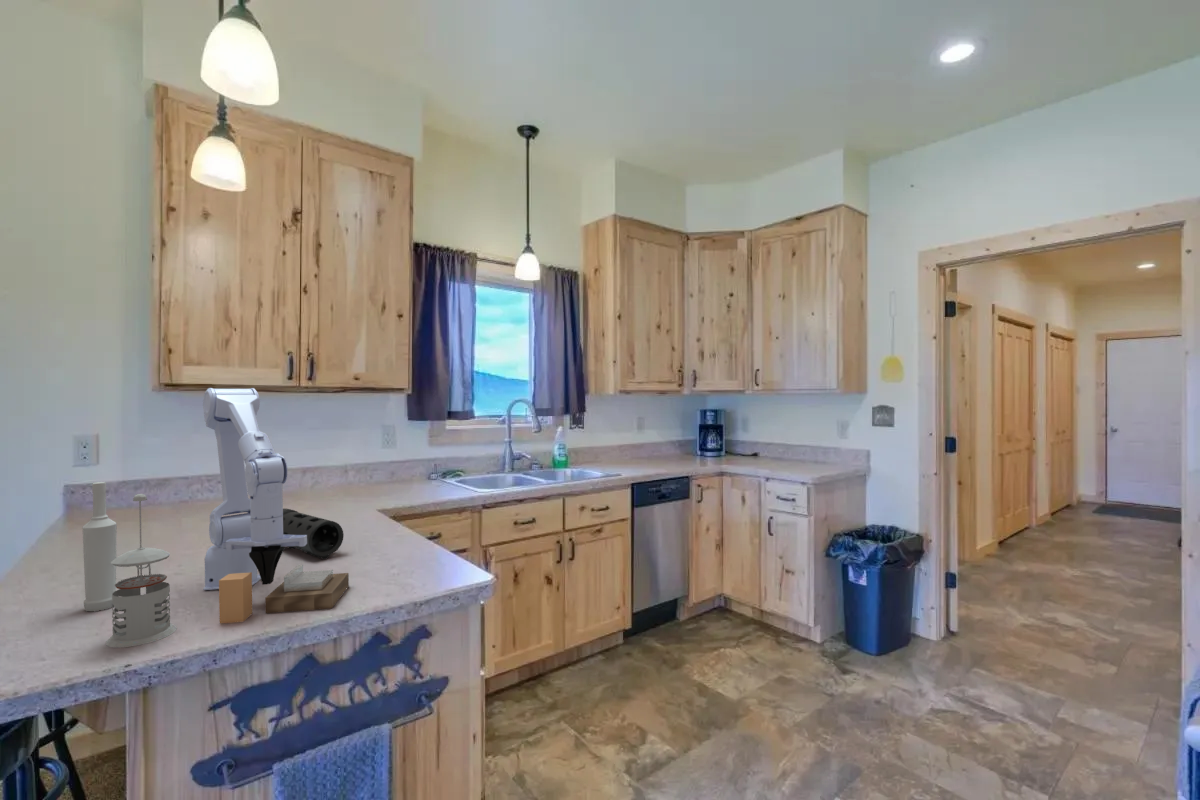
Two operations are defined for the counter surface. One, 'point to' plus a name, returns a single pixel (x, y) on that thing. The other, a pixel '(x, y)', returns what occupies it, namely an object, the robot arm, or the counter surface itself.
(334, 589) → the socket plate
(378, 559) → the counter surface
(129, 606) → the french press
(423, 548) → the counter surface
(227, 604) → the tan cardboard box
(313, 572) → the grey stepped block
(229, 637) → the counter surface
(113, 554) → the bottle
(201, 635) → the counter surface
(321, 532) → the muzzle brake
